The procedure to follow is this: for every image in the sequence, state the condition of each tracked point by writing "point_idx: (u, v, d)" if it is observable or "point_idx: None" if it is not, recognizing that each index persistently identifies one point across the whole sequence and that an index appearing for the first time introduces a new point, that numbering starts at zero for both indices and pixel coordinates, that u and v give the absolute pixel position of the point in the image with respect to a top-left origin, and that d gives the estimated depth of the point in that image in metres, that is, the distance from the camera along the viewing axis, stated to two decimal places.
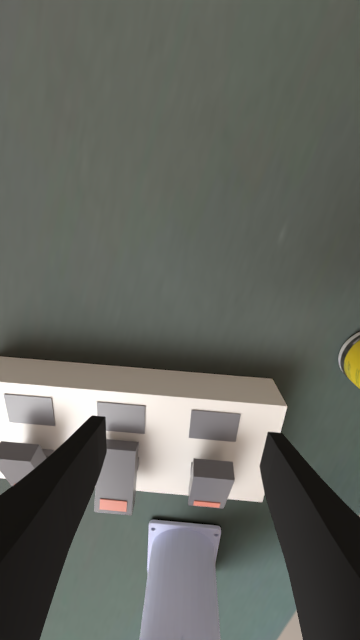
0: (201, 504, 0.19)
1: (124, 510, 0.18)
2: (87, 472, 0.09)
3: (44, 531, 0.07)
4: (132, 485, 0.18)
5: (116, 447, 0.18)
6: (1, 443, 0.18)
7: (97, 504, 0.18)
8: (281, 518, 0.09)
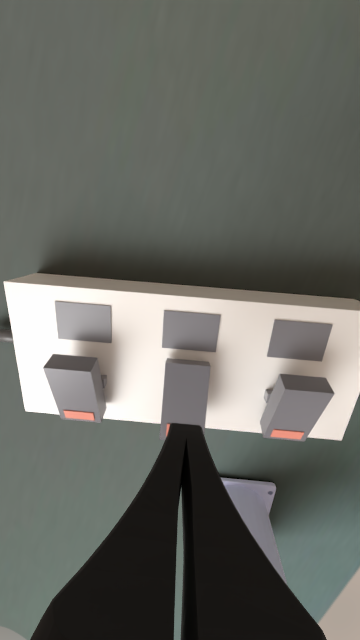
0: (280, 434, 0.16)
1: None
2: None
3: None
4: (205, 407, 0.15)
5: (186, 363, 0.15)
6: (53, 355, 0.15)
7: (163, 430, 0.16)
8: (184, 508, 0.09)
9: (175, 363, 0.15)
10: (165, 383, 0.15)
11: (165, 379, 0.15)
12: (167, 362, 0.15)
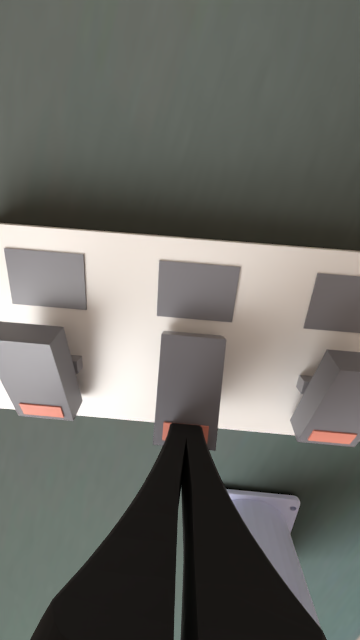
0: (323, 437, 0.12)
1: None
2: None
3: None
4: (218, 398, 0.11)
5: (192, 335, 0.11)
6: None
7: (159, 431, 0.11)
8: (184, 508, 0.09)
9: (175, 335, 0.11)
10: (161, 364, 0.11)
11: (161, 358, 0.11)
12: (164, 334, 0.11)
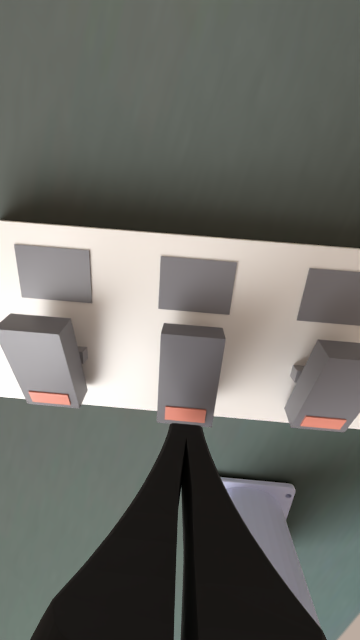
0: (314, 423, 0.13)
1: (201, 421, 0.12)
2: None
3: None
4: (216, 389, 0.12)
5: (191, 334, 0.11)
6: (10, 315, 0.11)
7: (161, 413, 0.12)
8: (184, 508, 0.09)
9: (174, 335, 0.11)
10: (161, 360, 0.11)
11: (161, 355, 0.11)
12: (163, 333, 0.11)
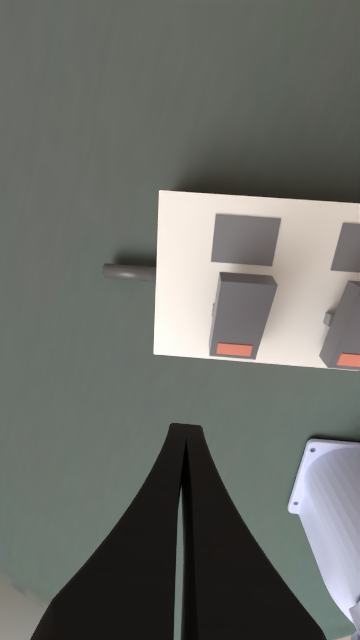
0: None
1: None
2: None
3: None
4: None
5: None
6: (221, 273, 0.13)
7: (335, 359, 0.14)
8: (184, 509, 0.09)
9: None
10: (353, 312, 0.13)
11: (354, 307, 0.13)
12: None
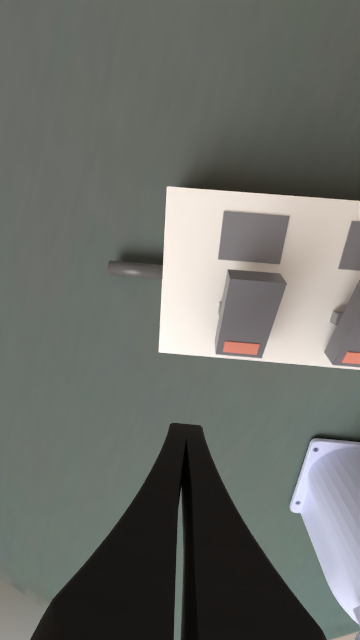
0: None
1: None
2: None
3: None
4: None
5: None
6: (229, 270, 0.13)
7: (340, 357, 0.14)
8: (184, 508, 0.09)
9: None
10: None
11: None
12: None
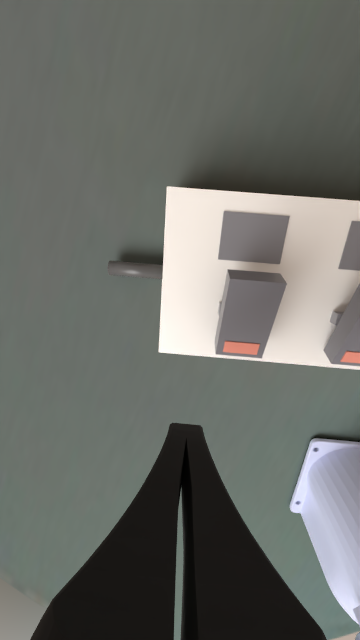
0: None
1: None
2: None
3: None
4: None
5: None
6: (229, 270, 0.13)
7: (339, 356, 0.15)
8: (184, 508, 0.09)
9: None
10: None
11: None
12: None
